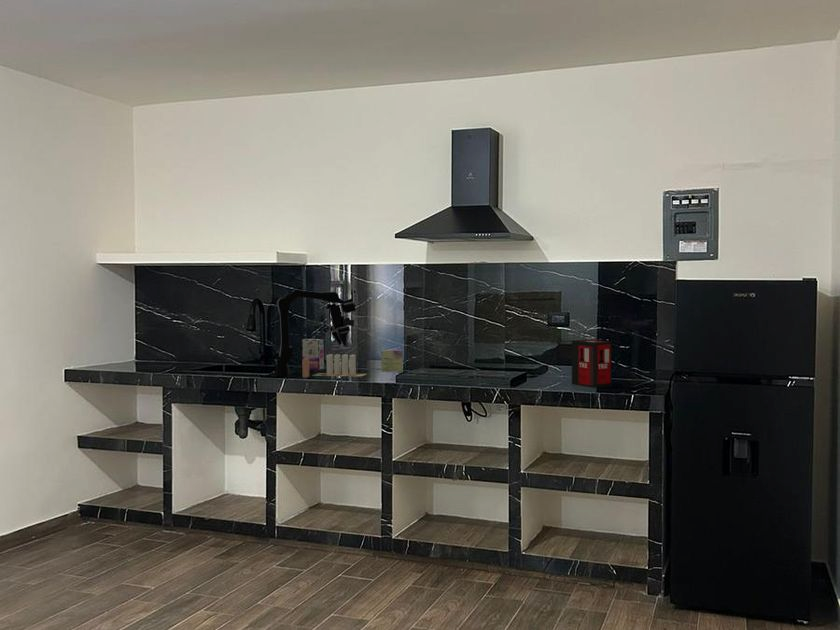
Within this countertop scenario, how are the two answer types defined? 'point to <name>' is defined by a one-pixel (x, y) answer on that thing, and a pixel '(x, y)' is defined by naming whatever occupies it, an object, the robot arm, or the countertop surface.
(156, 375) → the countertop surface
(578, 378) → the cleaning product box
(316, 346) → the candy bar box
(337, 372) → the domino
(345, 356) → the domino
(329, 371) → the domino
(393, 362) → the box
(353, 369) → the domino
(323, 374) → the domino board
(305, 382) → the countertop surface
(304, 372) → the domino
